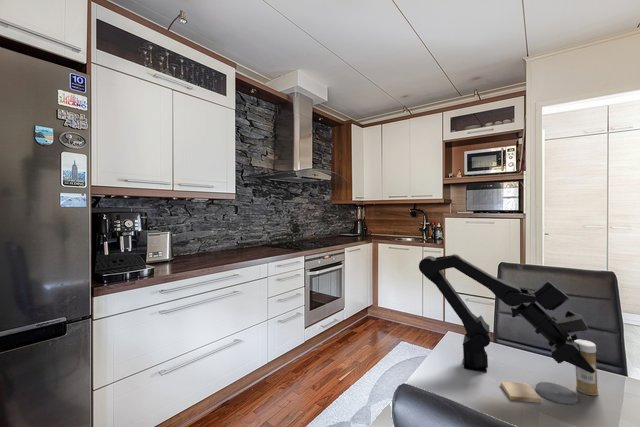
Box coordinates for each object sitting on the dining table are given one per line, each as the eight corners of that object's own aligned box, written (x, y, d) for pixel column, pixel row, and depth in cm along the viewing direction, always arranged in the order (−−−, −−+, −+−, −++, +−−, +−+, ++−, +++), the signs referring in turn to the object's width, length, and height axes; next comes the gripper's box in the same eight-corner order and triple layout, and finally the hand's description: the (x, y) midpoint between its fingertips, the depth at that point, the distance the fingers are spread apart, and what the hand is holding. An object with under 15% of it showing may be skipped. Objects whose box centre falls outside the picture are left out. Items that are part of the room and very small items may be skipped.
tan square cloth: (510, 399, 77) (510, 396, 77) (500, 384, 84) (500, 381, 84) (540, 402, 76) (540, 398, 76) (528, 387, 83) (527, 383, 83)
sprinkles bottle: (600, 392, 79) (598, 342, 79) (595, 398, 77) (593, 347, 77) (578, 384, 83) (576, 337, 83) (573, 390, 80) (571, 341, 81)
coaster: (541, 400, 77) (541, 397, 77) (531, 381, 85) (531, 379, 85) (584, 407, 73) (584, 405, 73) (570, 387, 82) (570, 385, 82)
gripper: (566, 313, 75) (629, 368, 68) (562, 296, 90) (614, 340, 83) (529, 337, 80) (586, 391, 73) (532, 317, 95) (579, 360, 88)
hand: (592, 368), depth 79 cm, fingers closed on sprinkles bottle, 4 cm apart
